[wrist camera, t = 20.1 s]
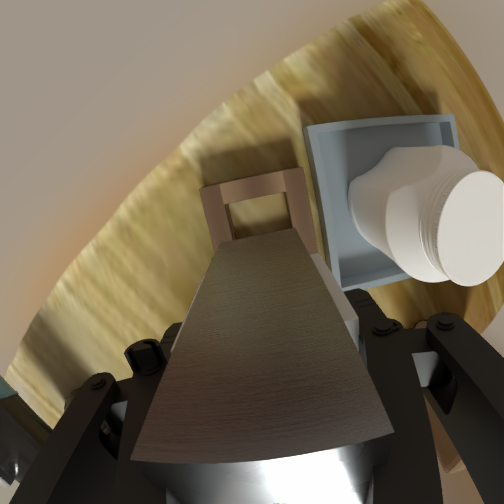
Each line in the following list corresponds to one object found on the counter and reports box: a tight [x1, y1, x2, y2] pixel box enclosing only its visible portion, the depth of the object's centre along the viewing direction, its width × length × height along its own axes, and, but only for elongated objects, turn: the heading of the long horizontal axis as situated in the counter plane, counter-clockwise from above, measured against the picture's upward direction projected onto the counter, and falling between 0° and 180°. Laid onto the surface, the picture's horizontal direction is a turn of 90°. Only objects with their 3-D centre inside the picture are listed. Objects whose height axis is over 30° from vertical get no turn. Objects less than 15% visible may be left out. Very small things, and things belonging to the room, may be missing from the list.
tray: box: [302, 114, 460, 292], centre depth 29 cm, size 18×18×3 cm
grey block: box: [130, 228, 394, 504], centre depth 11 cm, size 4×4×14 cm
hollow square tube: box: [199, 167, 318, 255], centre depth 30 cm, size 10×10×3 cm
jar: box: [348, 145, 504, 286], centre depth 23 cm, size 12×10×15 cm
